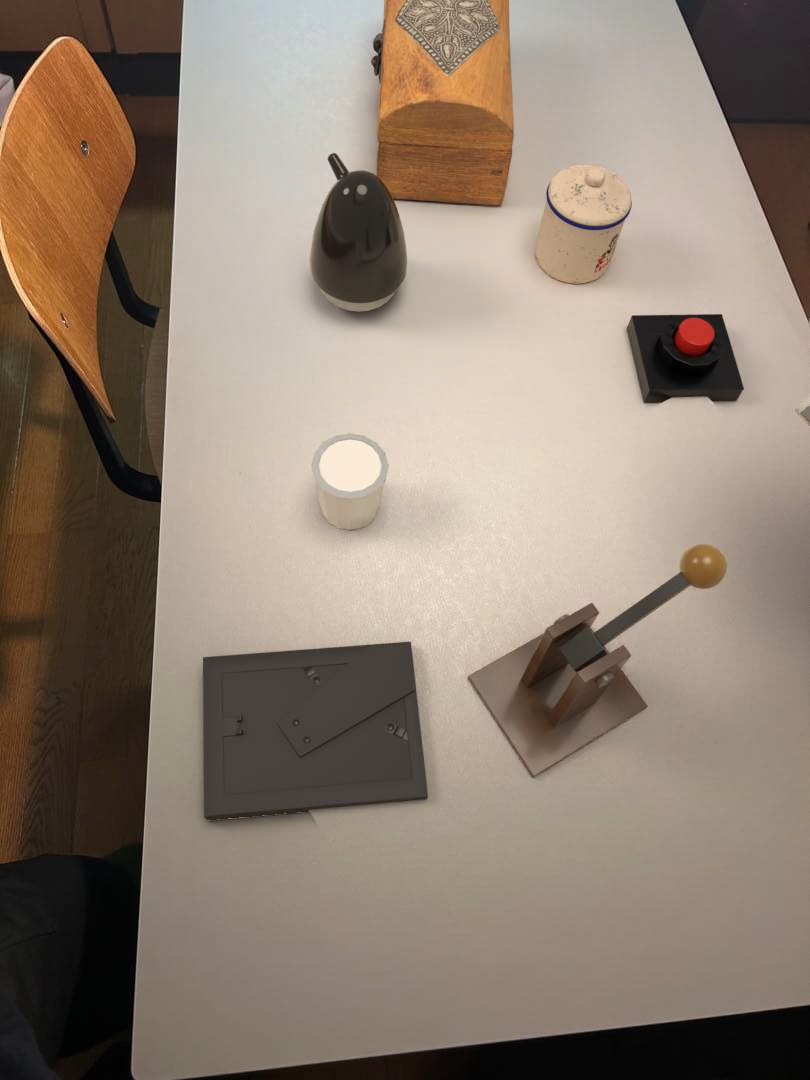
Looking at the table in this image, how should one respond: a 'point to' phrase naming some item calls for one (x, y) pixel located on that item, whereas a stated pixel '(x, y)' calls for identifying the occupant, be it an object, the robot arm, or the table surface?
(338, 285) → the pump dispenser
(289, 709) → the picture frame
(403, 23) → the wooden box
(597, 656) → the rod
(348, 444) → the white cylinder
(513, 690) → the bracket
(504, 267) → the table surface
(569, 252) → the teacup with lid
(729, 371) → the button box
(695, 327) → the button
